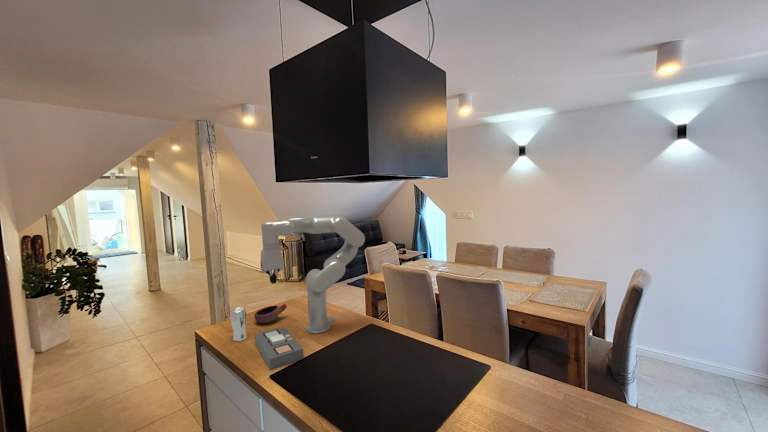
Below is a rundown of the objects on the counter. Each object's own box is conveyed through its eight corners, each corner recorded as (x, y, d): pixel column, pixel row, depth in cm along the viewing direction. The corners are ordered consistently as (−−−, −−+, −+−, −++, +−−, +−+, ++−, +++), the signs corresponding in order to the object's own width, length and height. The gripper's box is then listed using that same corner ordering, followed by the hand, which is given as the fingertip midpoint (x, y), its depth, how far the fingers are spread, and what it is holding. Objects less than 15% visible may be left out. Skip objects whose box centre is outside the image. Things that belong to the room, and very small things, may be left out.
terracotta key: (288, 351, 141) (287, 344, 141) (292, 356, 137) (291, 349, 136) (275, 355, 138) (275, 348, 138) (279, 360, 134) (278, 353, 133)
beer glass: (241, 342, 154) (239, 312, 153) (229, 341, 155) (226, 311, 154) (250, 335, 161) (248, 307, 159) (238, 334, 162) (236, 306, 161)
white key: (281, 340, 149) (281, 333, 148) (285, 344, 144) (285, 338, 144) (269, 343, 145) (269, 337, 145) (273, 348, 141) (272, 342, 141)
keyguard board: (284, 334, 160) (283, 326, 160) (303, 358, 137) (302, 348, 137) (255, 343, 153) (254, 333, 152) (270, 369, 130) (269, 358, 129)
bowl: (265, 328, 169) (264, 314, 168) (250, 323, 175) (249, 309, 175) (288, 317, 182) (288, 304, 182) (274, 313, 189) (273, 300, 188)
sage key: (276, 336, 156) (276, 330, 156) (280, 340, 152) (279, 334, 151) (265, 339, 153) (264, 333, 153) (268, 343, 148) (267, 337, 148)
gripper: (283, 243, 162) (285, 278, 164) (253, 247, 153) (255, 284, 155) (288, 245, 156) (290, 281, 158) (257, 249, 147) (260, 288, 149)
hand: (273, 282), depth 157 cm, fingers closed
